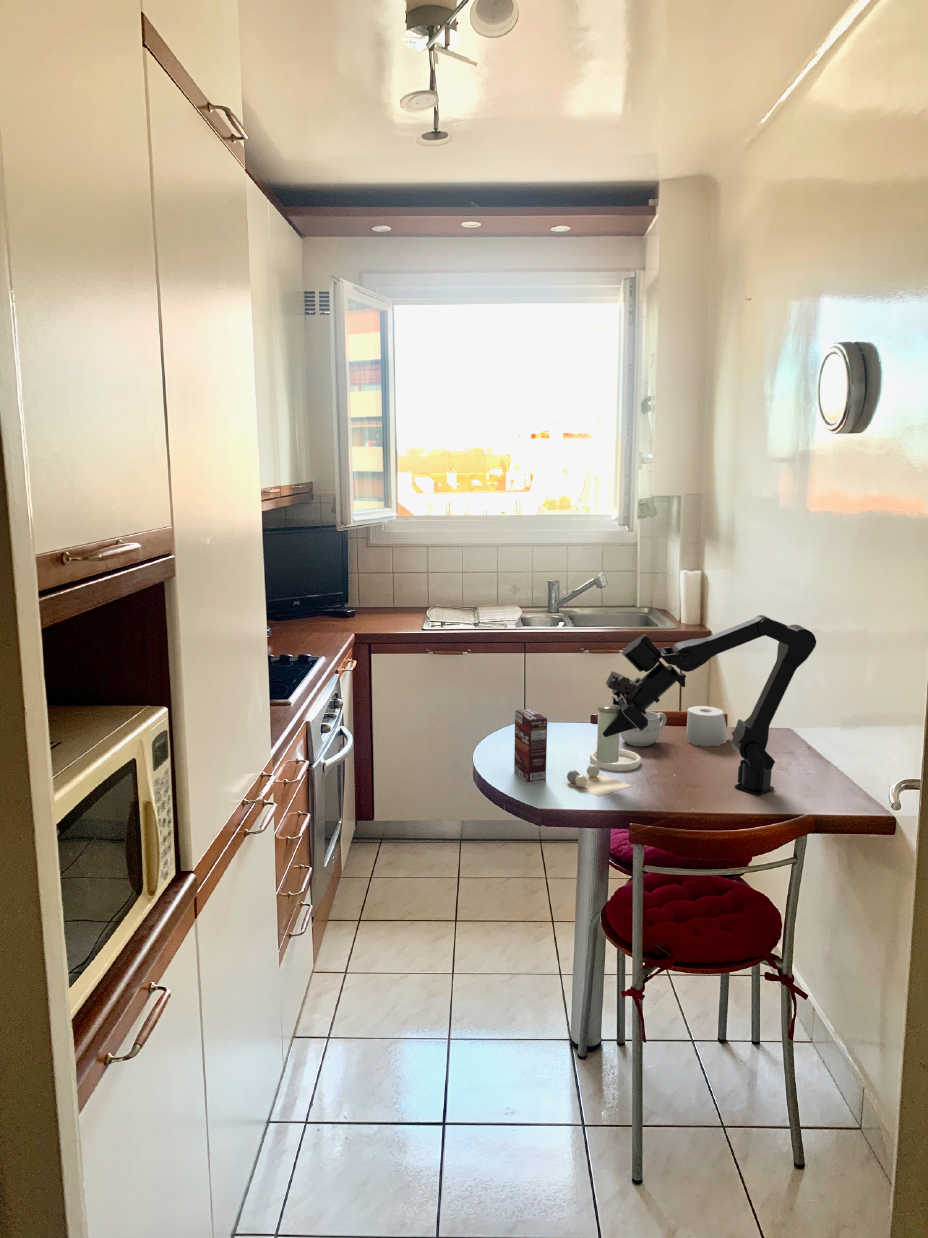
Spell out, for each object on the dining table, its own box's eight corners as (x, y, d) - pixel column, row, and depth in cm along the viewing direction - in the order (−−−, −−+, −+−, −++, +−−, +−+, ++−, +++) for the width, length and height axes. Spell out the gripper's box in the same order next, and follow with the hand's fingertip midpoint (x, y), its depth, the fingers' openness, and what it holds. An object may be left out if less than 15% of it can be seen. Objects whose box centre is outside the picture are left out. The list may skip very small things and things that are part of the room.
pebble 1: (582, 783, 204) (582, 771, 203) (573, 786, 202) (573, 773, 201) (573, 779, 206) (573, 767, 206) (564, 782, 204) (564, 770, 204)
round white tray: (649, 765, 217) (650, 757, 217) (616, 775, 210) (616, 767, 210) (613, 752, 227) (613, 745, 226) (580, 762, 219) (580, 754, 219)
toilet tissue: (735, 738, 239) (737, 708, 238) (709, 749, 230) (711, 717, 229) (706, 731, 246) (707, 701, 244) (679, 741, 237) (681, 710, 235)
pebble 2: (589, 787, 201) (590, 775, 201) (581, 790, 199) (581, 778, 199) (580, 784, 203) (581, 772, 203) (572, 786, 202) (572, 775, 201)
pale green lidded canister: (624, 760, 202) (626, 708, 200) (607, 765, 199) (609, 711, 196) (607, 754, 206) (609, 702, 204) (590, 758, 203) (592, 706, 201)
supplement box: (512, 773, 211) (514, 709, 208) (531, 771, 213) (532, 708, 210) (527, 786, 203) (529, 719, 200) (546, 783, 205) (548, 717, 202)
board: (631, 787, 202) (632, 786, 202) (598, 798, 196) (598, 796, 196) (597, 774, 211) (597, 772, 211) (564, 784, 204) (564, 782, 204)
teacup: (629, 751, 228) (630, 721, 227) (611, 738, 239) (612, 710, 237) (677, 747, 232) (678, 717, 231) (657, 734, 242) (659, 706, 241)
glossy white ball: (601, 777, 208) (602, 765, 207) (593, 780, 206) (593, 768, 205) (592, 774, 210) (593, 762, 210) (583, 776, 208) (584, 764, 208)
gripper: (622, 652, 207) (574, 697, 210) (634, 670, 189) (582, 719, 191) (654, 685, 208) (606, 729, 211) (670, 706, 190) (617, 754, 192)
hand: (602, 732), depth 201 cm, fingers closed on pale green lidded canister, 5 cm apart
